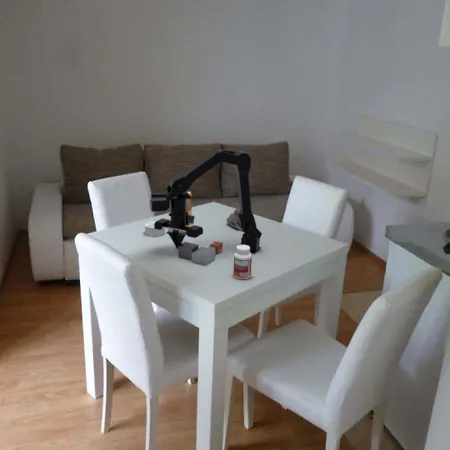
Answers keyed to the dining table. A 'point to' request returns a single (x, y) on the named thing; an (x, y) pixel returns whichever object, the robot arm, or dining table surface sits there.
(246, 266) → the pill bottle
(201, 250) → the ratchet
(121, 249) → the dining table surface
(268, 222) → the dining table surface
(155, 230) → the ramekin
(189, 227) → the robot arm
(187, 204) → the candy box
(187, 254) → the socket
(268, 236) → the dining table surface
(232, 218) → the mineral rock
